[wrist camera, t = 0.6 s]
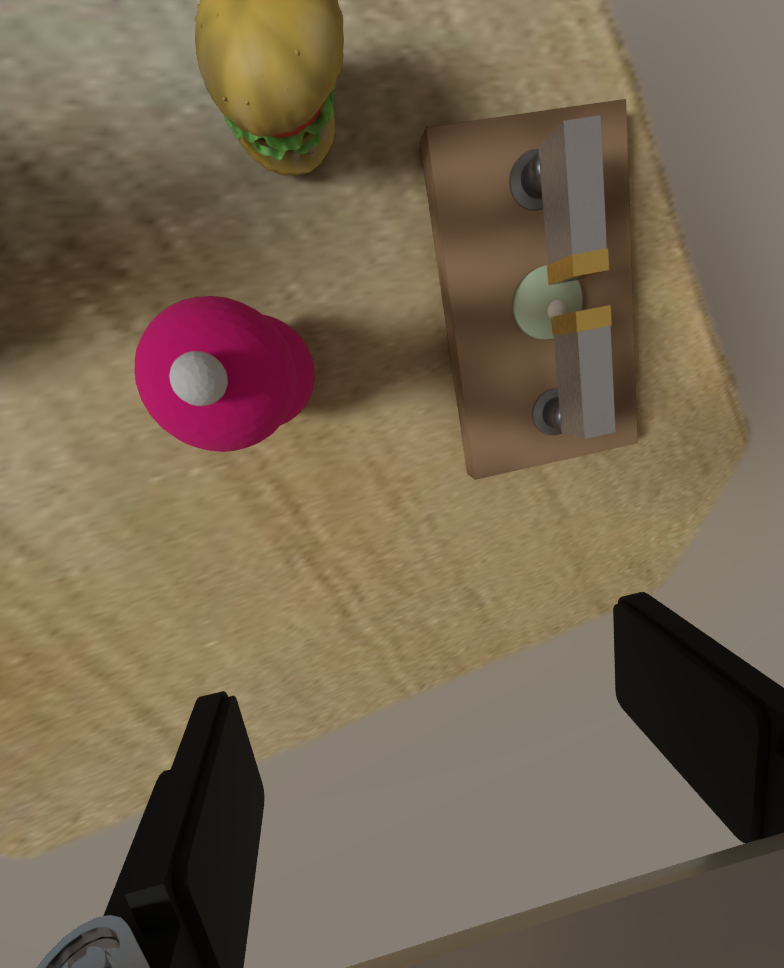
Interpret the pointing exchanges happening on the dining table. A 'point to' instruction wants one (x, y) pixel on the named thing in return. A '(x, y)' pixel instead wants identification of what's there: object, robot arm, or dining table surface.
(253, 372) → the pepper mill
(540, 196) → the gold-tipped grey bar
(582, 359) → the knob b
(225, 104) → the hamburger
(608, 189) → the level plate
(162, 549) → the dining table surface
